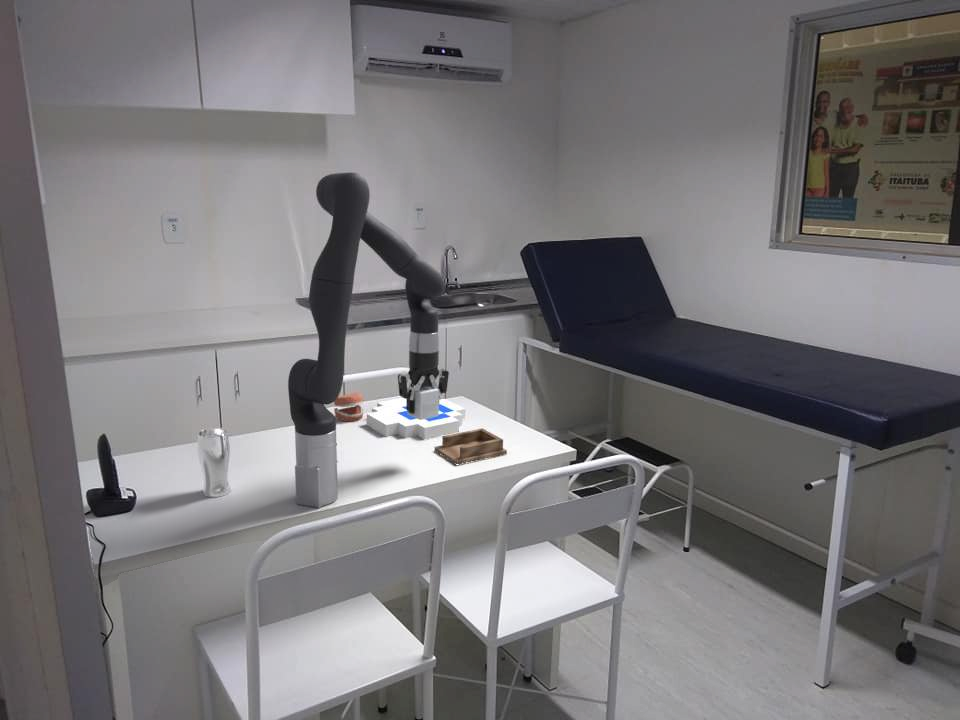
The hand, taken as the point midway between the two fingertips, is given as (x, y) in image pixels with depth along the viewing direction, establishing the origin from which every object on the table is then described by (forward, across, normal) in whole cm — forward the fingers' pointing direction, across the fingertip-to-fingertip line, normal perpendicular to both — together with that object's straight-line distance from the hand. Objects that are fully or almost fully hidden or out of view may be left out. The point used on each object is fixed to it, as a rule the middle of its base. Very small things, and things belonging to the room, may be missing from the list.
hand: (423, 410), depth 190 cm
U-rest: (+14, +15, 0) cm, 21 cm away
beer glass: (+15, -51, +9) cm, 54 cm away
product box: (+1, 0, 0) cm, 1 cm away
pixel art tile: (+15, +14, +30) cm, 36 cm away
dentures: (+15, -2, +42) cm, 45 cm away
